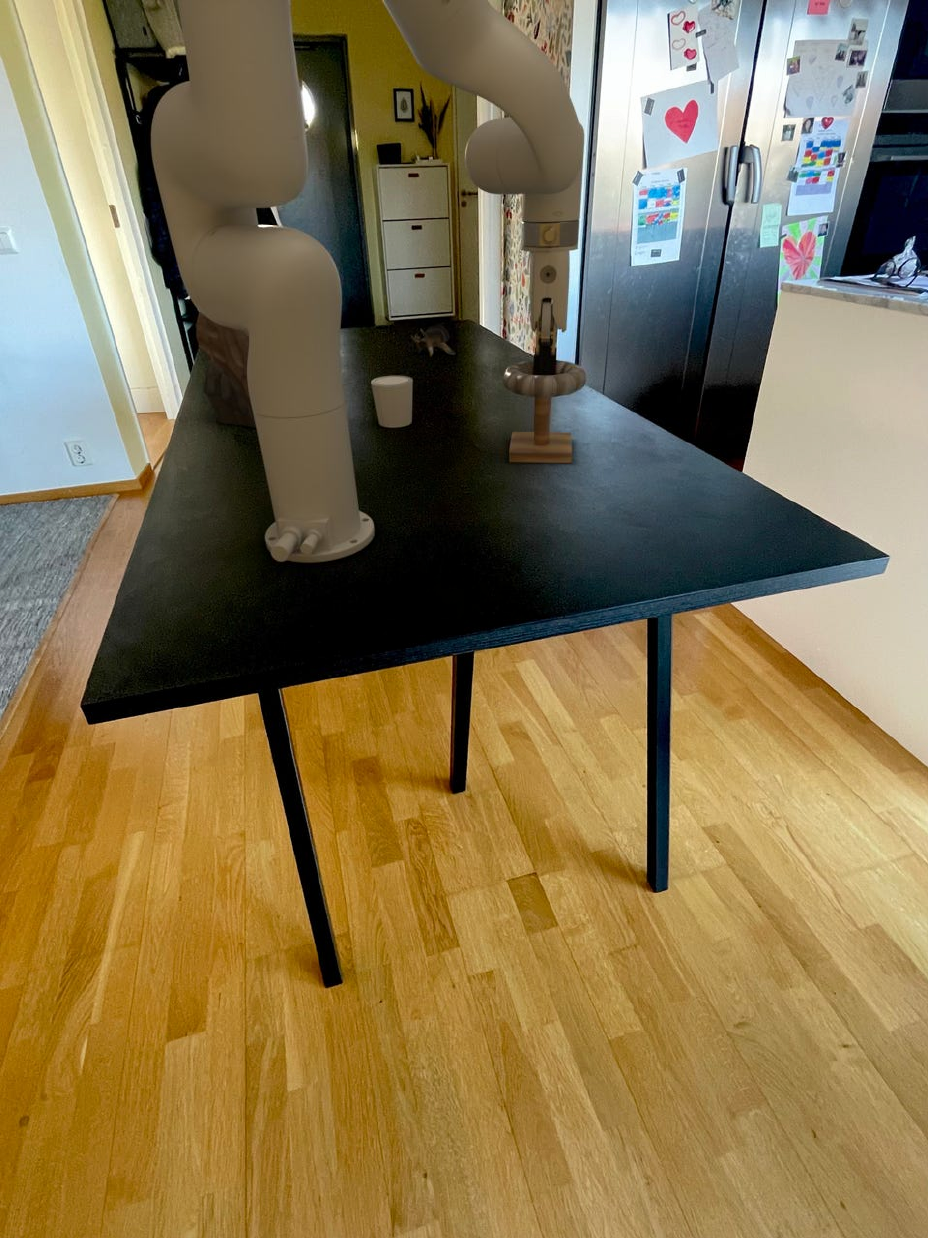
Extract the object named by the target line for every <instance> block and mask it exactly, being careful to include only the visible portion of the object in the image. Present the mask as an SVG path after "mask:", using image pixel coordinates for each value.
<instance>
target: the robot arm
mask: <svg viewBox="0 0 928 1238" xmlns="http://www.w3.org/2000/svg"><path fill="white" fill-rule="evenodd" d="M176 1H177V6H178V13H179V20H180V25H181V31H182V39H183V45H184V50H185V51H184V52H185V56H186V57H185V58H186V63H187V69H188V76H189V80H188V81H184V82H181V83H179V84H176V85H174V86H173V87H171V88H170V89H169V90H167V91H166V92H165V94H164V95H162V96H161V98H160V100H159V101H158V103H157V106H156V108H155V109H154V113H153V116H152V117H153V118H152V121H151V128H150V129H151V130H150V151H151V159H152V165H153V169H154V174H155V179H156V182H157V186H158V190H159V191H158V192H159V195H160V199H161V203H162V208H163V211H164V215H165V219H166V224H167V227H168V233H169V236H170V240H171V245H172V247H173V252H174V255H175V260H176V264H177V267H178V271H179V274H180V277H181V280H182V283H183V285H184V288H185V290H186V293H187V295H188V297H189V298H190V300H191V302H192V304H193V305H194V306H195V307H196V309H197V310H198V311H199V312H201V313H202V314H203V315H205V316H206V317H207V318H209V319H210V320H212V321H213V322H215V323H217V324H220V325H222V326H225V327H229V328H232V329H237V330H242V331H246V332H249V353H248V362H247V381H248V389H249V395H250V400H251V405H252V410H253V413H254V418H255V423H256V433H257V438H258V442H259V447H260V453H261V457H262V461H263V467H264V471H265V476H266V482H267V486H268V492H269V497H270V501H271V505H272V511H273V516H274V522H273V523H272V524H271V525H270V526H269V527H268V528H267V529H266V530H265V534H264V541H265V546H266V548H267V550H268V551H269V553H270V555H271V557H272V558H273V559H274V560H275V561H277V562H280V563H283V562H286V561H288V562H293V563H304V564H312V563H313V564H315V563H325V562H326V563H327V562H331V561H335V560H339V559H343V558H346V557H349V556H351V555H354V554H357V553H358V552H360V551H362V550H363V549H364V548H366V547H367V546H369V544H370V543H371V542H372V541H373V539H374V537H375V535H376V534H375V532H376V529H375V523H374V520H373V519H372V517H370V516H369V515H368V514H367V513H365V512H363V511H361V510H360V509H359V508H360V507H359V501H358V492H357V484H356V476H355V468H354V460H353V453H352V445H351V444H352V443H351V436H350V429H349V427H350V426H349V419H348V412H347V411H348V410H347V405H346V404H347V403H346V398H345V397H346V396H345V390H344V380H343V373H342V371H343V370H342V358H341V325H342V311H343V309H342V308H343V291H342V290H343V289H342V282H341V276H340V273H339V269H338V267H337V265H336V263H335V261H334V259H333V257H332V256H331V253H330V252H329V251H328V250H327V249H326V247H325V246H324V245H322V243H320V241H318V240H317V239H316V238H314V237H313V236H311V235H310V234H308V233H307V232H305V231H302V230H299V229H297V228H294V227H289V226H283V225H270V224H259V220H258V214H257V209H266V208H267V209H268V208H275V207H279V206H284V205H286V204H288V203H290V202H292V201H295V199H296V198H298V196H300V194H301V193H302V191H303V190H304V189H305V186H306V183H307V180H308V175H309V174H308V173H309V153H308V152H309V151H308V142H307V141H308V140H307V133H306V126H305V120H304V111H303V104H302V97H301V89H300V82H299V75H298V66H297V58H296V52H295V45H294V36H293V35H294V34H293V22H292V12H291V11H292V10H291V9H292V8H291V0H176ZM381 1H382V3H383V5H384V6H385V8H386V10H387V11H388V13H389V16H391V18H392V20H393V22H394V23H395V25H396V28H397V29H398V30H399V32H400V34H401V36H402V38H403V40H404V41H405V43H406V46H407V47H408V49H409V50H410V53H411V54H412V56H413V58H414V60H415V61H416V63H417V64H418V65H419V67H420V68H421V69H422V70H423V71H424V72H426V73H427V74H428V75H430V76H432V77H433V78H435V79H437V80H439V81H441V82H444V83H445V84H447V85H450V86H452V87H454V88H457V89H460V90H462V91H465V92H467V93H470V94H472V95H474V96H477V97H480V98H481V99H484V100H486V101H487V102H489V103H491V104H493V105H494V106H495V107H496V108H498V109H500V110H501V111H502V112H503V113H505V114H506V115H507V116H508V117H501V118H500V117H498V118H494V119H489V120H486V121H485V122H483V123H481V124H480V125H479V126H477V127H476V128H475V129H474V130H473V132H472V133H471V134H470V136H469V138H468V140H467V142H466V146H465V150H464V151H465V152H464V165H465V169H466V172H467V174H468V177H469V178H470V180H471V182H472V183H473V184H474V185H475V186H476V187H477V188H478V189H479V190H481V191H483V192H486V193H488V194H490V195H491V194H492V195H522V196H521V237H520V238H521V247H520V249H521V251H523V252H529V314H530V328H531V329H530V330H531V331H532V332H533V333H535V347H534V353H533V360H534V366H533V375H542V376H552V375H556V360H557V349H558V348H557V347H556V337H557V336H556V335H557V330H561V333H565V332H566V331H567V328H568V327H567V326H568V310H569V293H570V292H569V291H570V271H571V269H570V266H571V261H570V260H571V259H570V256H571V255H570V252H571V251H576V250H578V249H579V236H580V217H581V202H582V188H583V187H582V186H583V185H582V184H583V172H584V171H583V170H584V169H583V168H584V156H585V155H584V154H585V129H584V127H583V125H582V124H581V122H580V121H579V117H578V113H577V111H576V107H575V105H574V103H573V101H572V98H571V96H570V93H569V92H570V91H569V90H568V87H567V85H566V83H565V80H564V78H563V76H562V75H561V73H560V71H559V70H558V68H557V67H556V65H555V63H553V61H552V60H551V58H550V57H549V56H548V55H547V54H546V52H544V51H543V50H542V48H541V47H539V46H538V45H537V44H536V43H535V42H534V41H532V39H531V38H529V36H528V35H527V34H526V33H525V32H524V31H522V29H520V27H518V26H517V25H516V24H515V23H514V22H512V21H511V20H510V19H508V18H507V17H506V16H505V15H504V14H502V13H501V12H499V10H497V9H496V8H495V7H494V6H493V5H492V4H491V3H490V1H489V0H381Z"/></svg>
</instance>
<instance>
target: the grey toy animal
mask: <svg viewBox="0 0 928 1238" xmlns="http://www.w3.org/2000/svg"><path fill="white" fill-rule="evenodd" d="M420 333H421V334H422V336H423V337H422V338H421V337H420V336H419V335H418V333H415V334H414V335H410V339H411V340H412V341H413V342H414V344H415V346H416V347H417V352H418V354H420V353H421V351H422V350H423V349H424V348H427V349H428V352H429V357H432V356H433V355H434V348H439V349H440V350H442V351H444V352H445V353H446V354H447V355H451V356H454V355H456V352H455V351H454V350H452V348H451V347H450V346H448V345H447V344H446V343H448V341H449V339H450V335H449V331H448V330H447V329H446V328H445V327H444V326H443V325H441V324H437V325H433V326H429V327H428V328H427V329H426V330H425V331H424V330H423V328H420ZM413 336H414V337H413ZM421 343H423V344H422V345H421Z"/></svg>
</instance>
